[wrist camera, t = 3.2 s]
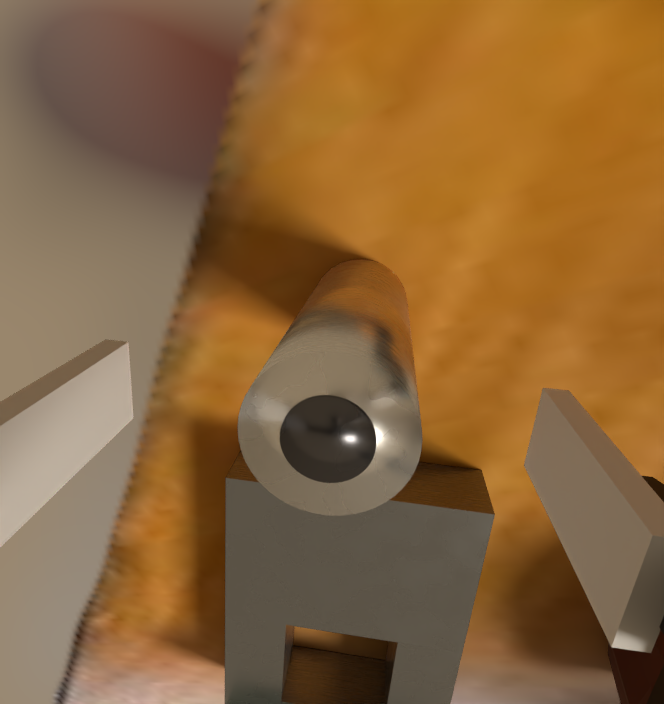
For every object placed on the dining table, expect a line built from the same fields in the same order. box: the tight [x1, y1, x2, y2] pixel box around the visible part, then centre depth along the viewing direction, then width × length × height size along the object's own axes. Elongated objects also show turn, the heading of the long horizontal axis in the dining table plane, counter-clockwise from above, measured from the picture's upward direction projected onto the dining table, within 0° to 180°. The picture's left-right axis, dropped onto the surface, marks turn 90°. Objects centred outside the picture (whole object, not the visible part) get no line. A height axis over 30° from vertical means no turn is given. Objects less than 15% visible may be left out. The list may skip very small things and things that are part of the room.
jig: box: [225, 451, 495, 704], centre depth 30 cm, size 20×14×6 cm
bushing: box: [238, 259, 422, 516], centre depth 20 cm, size 5×5×14 cm
